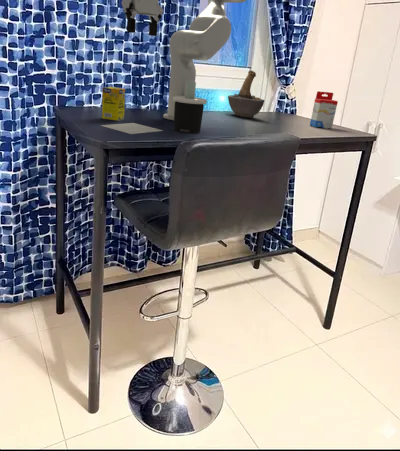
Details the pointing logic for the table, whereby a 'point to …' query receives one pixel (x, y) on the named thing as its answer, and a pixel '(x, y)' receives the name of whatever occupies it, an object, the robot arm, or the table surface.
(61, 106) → the table surface
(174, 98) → the lid
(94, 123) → the table surface
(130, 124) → the mat
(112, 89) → the supplement box
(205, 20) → the robot arm
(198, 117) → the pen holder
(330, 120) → the ink box
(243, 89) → the mortar and pestle
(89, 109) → the table surface
